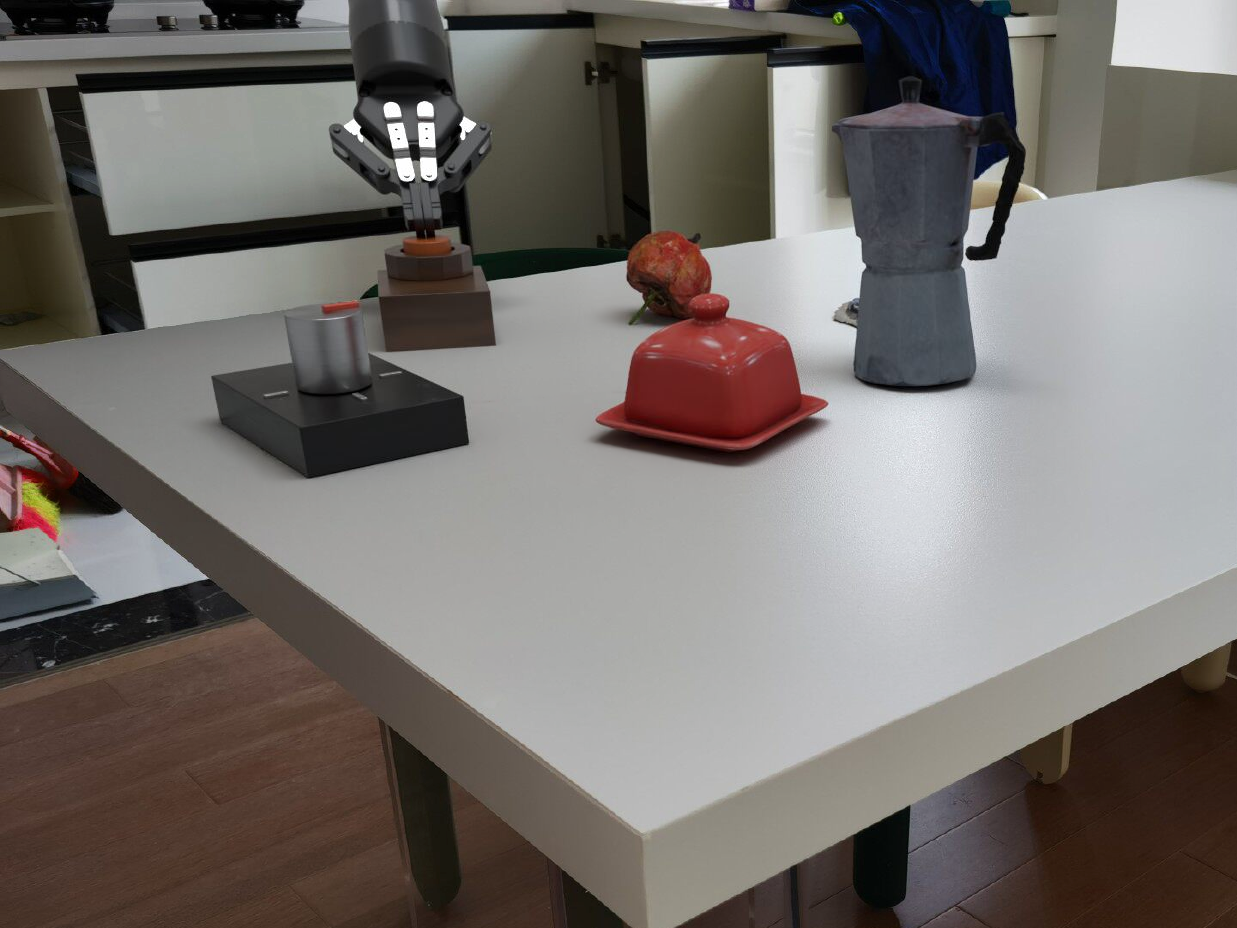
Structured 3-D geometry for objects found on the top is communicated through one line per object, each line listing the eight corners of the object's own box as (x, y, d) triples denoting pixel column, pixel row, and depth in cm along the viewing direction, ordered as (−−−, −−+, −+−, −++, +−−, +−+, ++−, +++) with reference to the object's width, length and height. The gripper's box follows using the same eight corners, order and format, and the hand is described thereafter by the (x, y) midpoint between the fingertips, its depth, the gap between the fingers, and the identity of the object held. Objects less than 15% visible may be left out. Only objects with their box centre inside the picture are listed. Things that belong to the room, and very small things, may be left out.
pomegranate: (675, 359, 113) (753, 271, 115) (616, 291, 108) (699, 201, 110) (635, 350, 118) (710, 266, 120) (577, 285, 114) (656, 199, 116)
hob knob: (311, 398, 83) (297, 317, 81) (286, 382, 86) (272, 304, 84) (383, 386, 85) (372, 307, 83) (356, 371, 88) (344, 294, 86)
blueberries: (914, 308, 121) (914, 285, 120) (913, 330, 114) (914, 306, 113) (836, 306, 121) (836, 284, 120) (830, 328, 114) (830, 304, 113)
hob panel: (219, 422, 89) (210, 373, 87) (371, 394, 95) (364, 348, 93) (308, 478, 79) (299, 424, 78) (469, 443, 85) (463, 393, 84)
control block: (496, 346, 107) (487, 266, 104) (386, 353, 104) (374, 271, 102) (485, 313, 116) (477, 240, 114) (384, 319, 114) (373, 244, 111)
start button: (455, 275, 109) (451, 241, 108) (407, 277, 108) (402, 243, 107) (452, 266, 113) (448, 233, 111) (406, 268, 111) (401, 235, 110)
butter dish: (744, 469, 82) (740, 324, 78) (586, 439, 86) (574, 301, 83) (837, 419, 91) (837, 287, 87) (689, 395, 96) (683, 268, 92)
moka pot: (863, 347, 108) (866, 68, 99) (1044, 377, 101) (1065, 79, 92) (795, 374, 101) (791, 75, 92) (985, 408, 94) (1001, 88, 85)
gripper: (307, 17, 109) (329, 204, 104) (481, 17, 112) (511, 197, 108) (320, 85, 116) (342, 263, 111) (484, 83, 119) (512, 255, 114)
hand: (425, 231), depth 109 cm, fingers closed
